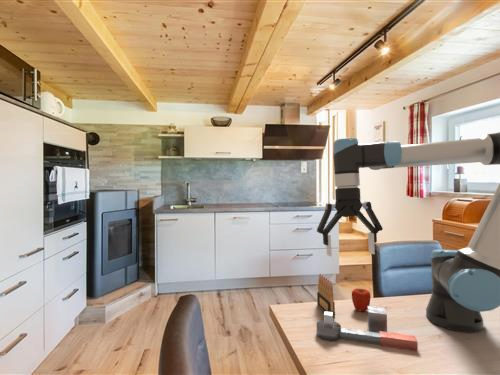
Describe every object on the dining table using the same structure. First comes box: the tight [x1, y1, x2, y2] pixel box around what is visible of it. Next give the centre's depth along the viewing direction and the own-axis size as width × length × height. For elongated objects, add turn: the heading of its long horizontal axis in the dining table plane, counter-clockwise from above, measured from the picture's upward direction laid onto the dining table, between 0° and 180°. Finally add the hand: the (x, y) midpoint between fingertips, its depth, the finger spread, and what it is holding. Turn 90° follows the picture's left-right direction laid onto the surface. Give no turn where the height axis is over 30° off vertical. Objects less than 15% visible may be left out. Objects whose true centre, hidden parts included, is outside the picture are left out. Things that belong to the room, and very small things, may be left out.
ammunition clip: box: [316, 273, 336, 318], centre depth 102 cm, size 11×2×12 cm, turn 10°
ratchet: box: [316, 311, 419, 352], centre depth 82 cm, size 26×7×6 cm, turn 71°
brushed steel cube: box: [367, 305, 388, 333], centre depth 88 cm, size 5×5×6 cm
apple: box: [351, 288, 371, 312], centre depth 101 cm, size 6×6×8 cm
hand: (350, 254), depth 90 cm, fingers open, 13 cm apart
